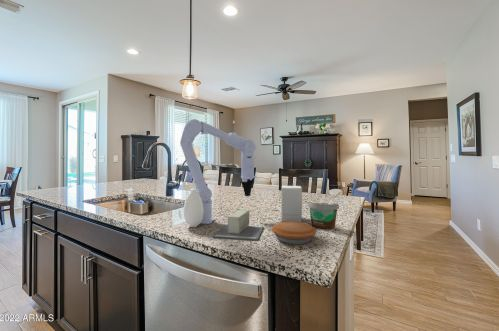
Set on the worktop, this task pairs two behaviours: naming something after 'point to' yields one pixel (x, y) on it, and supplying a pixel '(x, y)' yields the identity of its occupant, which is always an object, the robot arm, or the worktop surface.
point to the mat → (246, 234)
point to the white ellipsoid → (193, 208)
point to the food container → (323, 215)
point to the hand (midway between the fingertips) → (247, 195)
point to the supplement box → (292, 203)
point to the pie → (294, 232)
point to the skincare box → (238, 221)
